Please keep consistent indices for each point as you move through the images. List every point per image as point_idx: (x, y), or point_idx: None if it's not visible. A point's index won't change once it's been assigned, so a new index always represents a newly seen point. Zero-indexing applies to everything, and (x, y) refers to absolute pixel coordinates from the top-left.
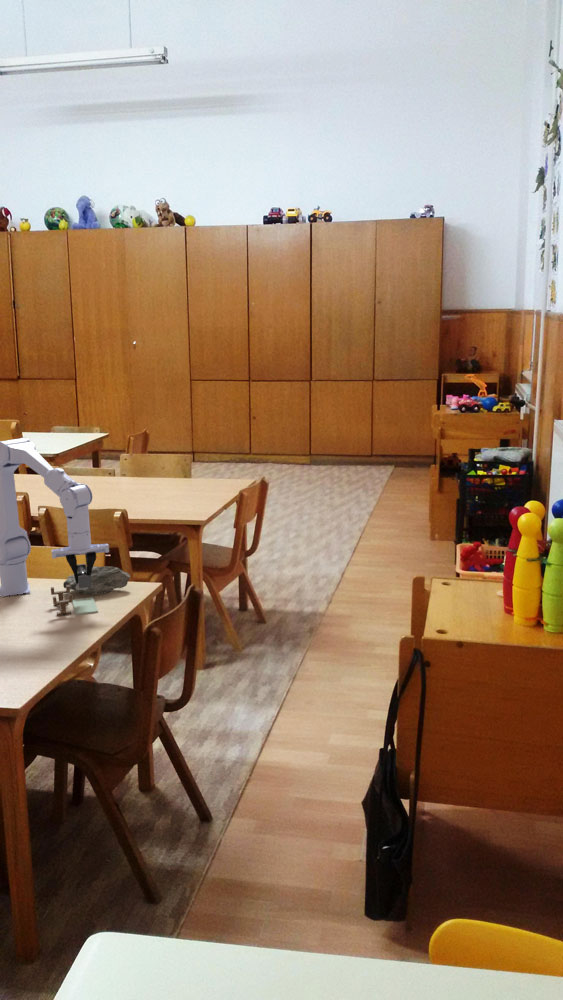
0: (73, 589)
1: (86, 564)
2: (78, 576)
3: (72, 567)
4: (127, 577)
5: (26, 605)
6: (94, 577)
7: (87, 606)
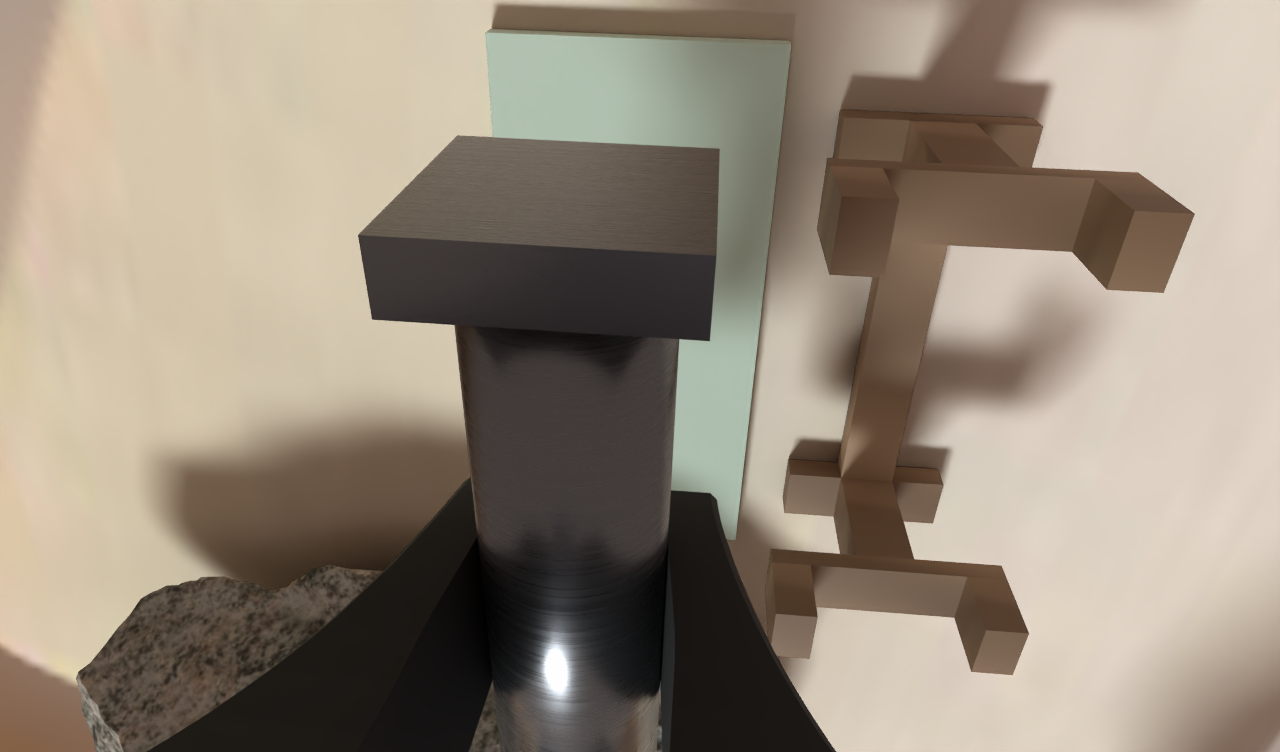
0: None
1: None
2: (709, 294)
3: (796, 743)
4: (95, 675)
5: (1181, 601)
6: None
7: None
